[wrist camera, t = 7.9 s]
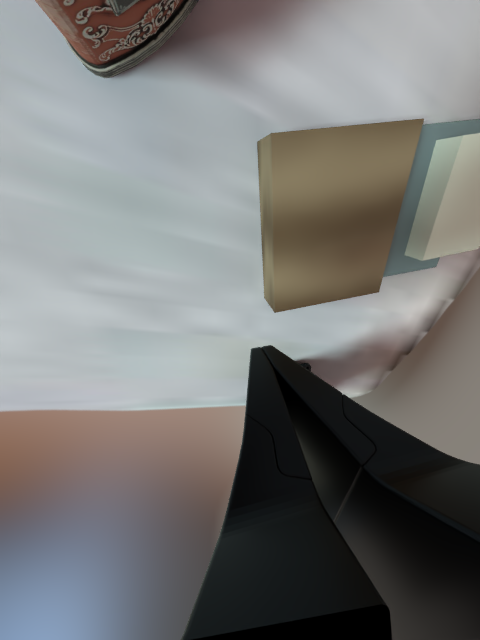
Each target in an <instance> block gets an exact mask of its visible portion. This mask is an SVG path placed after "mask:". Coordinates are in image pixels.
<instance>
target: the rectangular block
mask: <svg viewBox="0 0 480 640" xmlns="http://www.w3.org/2000/svg"><path fill="white" fill-rule="evenodd" d="M479 246H480V133H476V134H469V135H462V136H457V137H451V138H446V139H440V140H436V143H435V147H434V150H433V154H432V158H431V161H430V165H429V168H428V172H427V176H426V179H425V183H424V186H423V190H422V194H421V197H420V201H419V204H418V208H417V211H416V215H415V219H414V222H413V226H412V229H411V233H410V237H409V240H408V244H407V247H406V251H405V255H406V256H409V257H412V258H415V259H418V260H421V261H424V260H429V259H433V258H438V257H443V256H448V255H452V254H457V253H462V252H467V251H471V250H476V249H478V248H479Z"/></svg>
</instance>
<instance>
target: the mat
mask: <svg viewBox="0 0 480 640" xmlns="http://www.w3.org/2000/svg"><path fill="white" fill-rule="evenodd" d="M476 133H480V119H476V120H466V121H456V122H446V123H436V124H425V125H422V129H421V133H420V136H419V140H418V144H417V148H416V152H415V155H414V159H413V163H412V167H411V171H410V175H409V178H408V182H407V186H406V190H405V194H404V198H403V201H402V205H401V209H400V213H399V217H398V221H397V224H396V228H395V232H394V236H393V240H392V243H391V247H390V251H389V255H388V259H387V263H386V266H385V270H384V274H383V277H385V276H391V275H396V274H401V273H407V272H412V271H417V270H422V269H428V268H433V267H436V266H437V263H438V261H439V258H440V257H438V258H433V259H429V260H424V261H421V260H418V259H415V258H412V257H409V256H406V255H405V251H406V247H407V244H408V240H409V237H410V233H411V229H412V226H413V222H414V219H415V215H416V211H417V208H418V204H419V201H420V197H421V194H422V190H423V186H424V183H425V179H426V176H427V172H428V168H429V165H430V161H431V158H432V154H433V150H434V147H435V143H436V140H440V139H446V138H451V137H457V136H462V135H469V134H476Z"/></svg>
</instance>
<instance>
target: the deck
mask: <svg viewBox="0 0 480 640" xmlns="http://www.w3.org/2000/svg"><path fill="white" fill-rule="evenodd" d="M423 121H424V119H415V120H404V121H394V122H384V123H373V124H363V125H352V126H342V127H331V128H321V129H311V130H300V131H290V132H279V133H271V134H269V135H268V136H266V137H264V138H263V139H261V140H260V141H258V142H257V146H258V168H259V190H260V212H261V234H262V255H263V277H264V298H265V299H266V301H267V302H268V304H269V305H270V307H271V308H272V309H273V311H274V312H275V313H276V312H281V311H286V310H291V309H296V308H301V307H306V306H311V305H316V304H321V303H326V302H331V301H336V300H341V299H347V298H352V297H357V296H362V295H367V294H372V293H377V292H379V289H380V286H381V282H382V278H383V274H384V270H385V266H386V263H387V259H388V255H389V251H390V247H391V243H392V240H393V236H394V232H395V228H396V224H397V221H398V217H399V213H400V209H401V205H402V201H403V198H404V194H405V190H406V186H407V182H408V178H409V175H410V171H411V167H412V163H413V159H414V155H415V152H416V148H417V144H418V140H419V136H420V133H421V129H422V125H423Z"/></svg>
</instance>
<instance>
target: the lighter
mask: <svg viewBox="0 0 480 640" xmlns="http://www.w3.org/2000/svg"><path fill="white" fill-rule="evenodd" d="M35 1H36V2H37V3H38V5H39V6H40V7H41V8H42V10H43V11H44V12H45V13H46V14H47V16H48V17H49V18H50V19H51V21H52V22H53V23H54V24H55V25H56V27H57V28H58V29H59V30H60V32H61V33H62V34H63V36H64V38H65V40H66V42H67V44H68V45H69V47H70V49H71V50H72V52H73V53H74V54H75V55H76V56H77V58H78V59H79V60H80V61H81V62H82V63H83V65H84V66H85V67H86V68H87V69H88V70H90V71H91V72H92V73H94V74H95V75H97V76H100V77H103V78H108V77H113V76H115V75H117V74H119V73H121V72H123V71H125V70H127V69H129V68H131V67H133V66H135V65H137V64H138V63H140V62H141V61H143V60H144V59H145V58H147V57H148V56H149V55H151V54H152V53H154V52H155V51H156V50H158V49H159V48H160V47H161V46H162V45H163V44H164V43H165V42H166V41H167V40H168V39H169V38H170V37H171V35H172V34H173V33H174V32H175V31H176V30H177V29H178V28H179V27H180V26H181V25H182V23H183V22H184V20H185V19H186V18H187V16H188V15H189V13H190V12H191V10H192V9H193V7H194V6H195V4H196V3H197V1H198V0H35Z"/></svg>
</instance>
